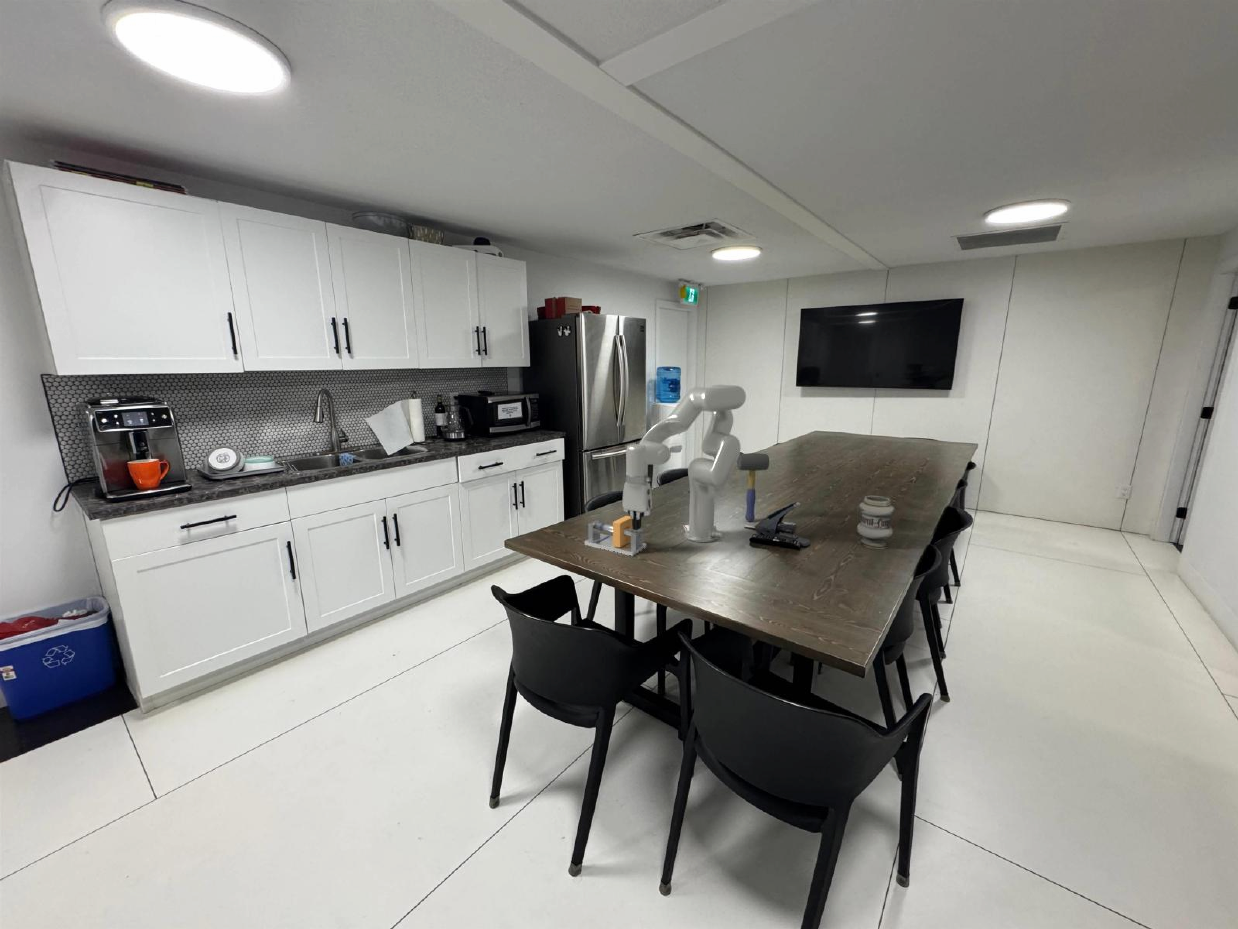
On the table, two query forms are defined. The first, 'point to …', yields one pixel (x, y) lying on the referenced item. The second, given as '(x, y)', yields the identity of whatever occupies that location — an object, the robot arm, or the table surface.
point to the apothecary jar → (875, 521)
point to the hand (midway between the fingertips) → (636, 528)
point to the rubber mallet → (752, 477)
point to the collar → (621, 531)
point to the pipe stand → (607, 541)
